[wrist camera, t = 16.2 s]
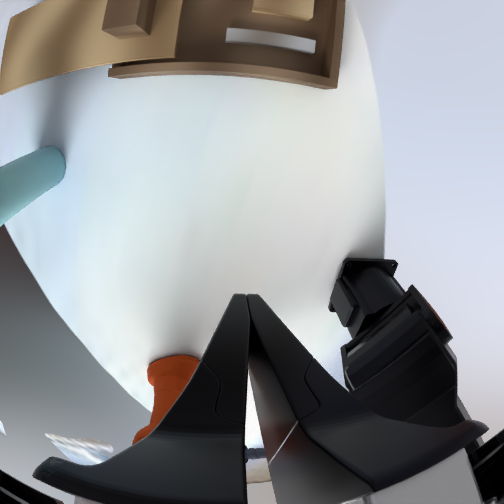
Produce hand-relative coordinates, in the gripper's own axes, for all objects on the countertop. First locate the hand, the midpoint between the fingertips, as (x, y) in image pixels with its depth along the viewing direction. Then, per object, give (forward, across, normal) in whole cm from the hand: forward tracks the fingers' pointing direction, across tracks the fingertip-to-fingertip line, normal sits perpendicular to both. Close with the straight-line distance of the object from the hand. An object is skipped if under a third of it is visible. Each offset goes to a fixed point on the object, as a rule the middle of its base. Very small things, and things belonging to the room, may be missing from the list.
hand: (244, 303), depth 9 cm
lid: (+10, +12, -13) cm, 21 cm away
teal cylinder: (+13, +16, -2) cm, 21 cm away
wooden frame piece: (+13, +2, -13) cm, 18 cm away
